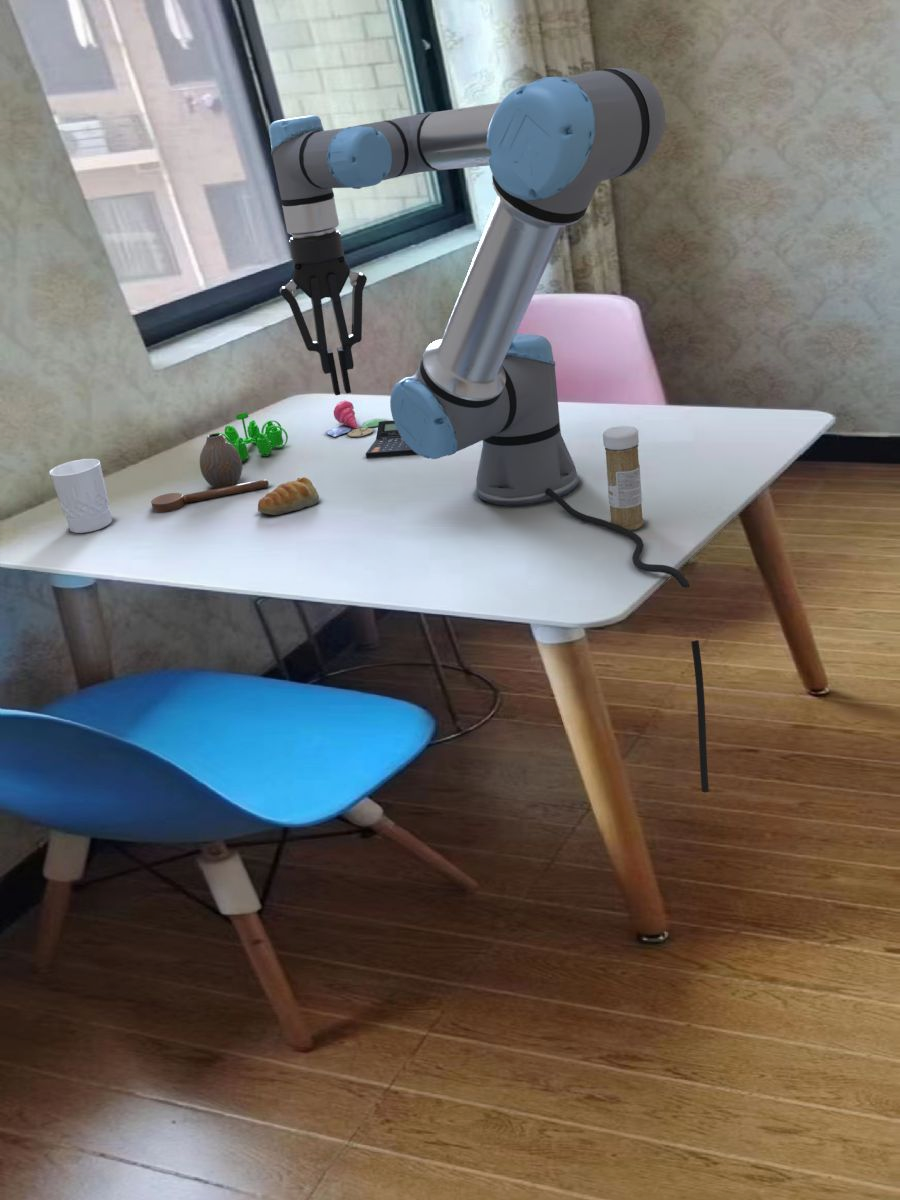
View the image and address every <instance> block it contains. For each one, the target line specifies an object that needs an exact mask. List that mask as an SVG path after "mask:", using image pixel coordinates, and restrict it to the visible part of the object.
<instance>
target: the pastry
mask: <svg viewBox="0 0 900 1200" xmlns="http://www.w3.org/2000/svg"><path fill="white" fill-rule="evenodd" d="M319 498H320V495H319V493H318V491H317V488H316V487H315V486H314V485H313V482H312V481H311V479H309V478H308V477H306V476H303V477H298V478H297V479H296V480H291V481H286V482H284V483H281V484H279V485H277V486H276V487H275V488H274V489H273V490H272V491H270V492H268V493H266V494H265V495H264V496H263V497H261V499H259V500H258V503H257V511H258V512H259V513H261V514H265V515H272V516H276V515H277V516H280V515H282V514H285V513H286V514H287V513H291V512H296V511H299V510H302V509H304V508H305V507H306V508H307V507H308V508H309V507H312V506H314V505H315V504H317V503H318V502H319V501H318V500H319Z"/></svg>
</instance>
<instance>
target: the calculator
mask: <svg viewBox="0 0 900 1200" xmlns="http://www.w3.org/2000/svg"><path fill="white" fill-rule="evenodd" d="M413 455H414V456H415V455H418V454H417V453H415V452H414V451H413V450H412V449H411V448H410V447H409V446H408V445H407V444H406V443H405V441H404V440H403V439H402V437H401V436H400V434H399V432H398V430H397V428H396V426H395V422H394V420H393V419H392V420H386V421H380V422H379V424H378V426H377V429H376V437H375V440H374V442H373V443H372V444H371V446H370V447H369V448H368V450H367V451H366V452H365V457H366V459H371V458H372V459H374V458H385V457H386V458H387V457H399V456H413Z"/></svg>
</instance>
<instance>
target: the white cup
mask: <svg viewBox="0 0 900 1200" xmlns="http://www.w3.org/2000/svg"><path fill="white" fill-rule="evenodd" d="M48 474H49V476H50V479H51V482H52V486H53V488H54V492H55V494H56V497H57V500H58V503H59V505H60V508H61V510H62V513H63V515H64V517H65V519H66V522H67V526H68V528H69V531H70V532H72V533H74V534H85V533H90V532H91V533H92V532H95V531H98V530H101V529H103V528H106V527H107V526H109V525H110V524H111V523H112V522H113V518H112V514H111V509H110V502H109V495H108V492H107V485H106V483H105V478H104V473H103V470H102V465H101V461H100V460H99V459H97V458H82V459H81V458H80V459H75V460H71V461H67V462H64V463H61V464H59V465H56V466H54V467H53V468H51V469H50V470H49V472H48Z"/></svg>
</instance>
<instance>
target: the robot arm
mask: <svg viewBox="0 0 900 1200" xmlns="http://www.w3.org/2000/svg"><path fill="white" fill-rule="evenodd" d="M665 126H666V110H665V106H664V101H663V99H662V97H661V94H660V93H659V90H658V89H657V87H656V86H655V85H654V83H652V81H651V80H649V78H647V77H646V76H644V75H643V74H641V73H640V72H638V71H635V70H633V69H629V68H624V67H610V68H609V67H608V68H603V69H599V70H593V71H587V72H582V73H577V74H573V75H569V76H568V75H567V76H547V77H543V78H539V79H536V80H534V81H532V82H530V83H527V84H524V85H521V86H519V87H517V88H515V89H513V90H512V91H511V92H509V93H508V94H507V95H506V96H505V97H504V98H503V99H502V101H500V102H494V103H488V104H482V105H481V104H480V105H475V106H468V107H461V108H454V109H448V110H447V109H446V110H440V111H425V112H419V113H416V114H412V115H408V116H402V117H397V118H392V119H388V120H387V119H386V120H382V121H375V122H369V123H364V124H359V125H353V126H347V127H340V128H333V129H326V130H325V129H324V126H323V123H322V120H321V118H320V116H318V115H314V114H313V115H312V114H311V115H304V116H296V117H291V118H284V119H279V120H275V121H272V123H270V125H269V128H268V132H269V138H270V147H271V150H270V151H271V152H270V154H271V156H272V161H273V165H274V171H275V177H276V181H277V186H278V191H279V196H280V200H281V205H282V207H281V208H282V212H283V218H284V223H285V226H286V227H285V229H286V233H287V234H289V235H291V237H290V238H289V240H288V243H289V248H290V254H291V255H290V256H291V261H292V265H293V270H292V274H291V280H290V281H289V282H287V283H286V284H285V285H282V286H280V288H279V293H280V295H281V296H282V298H283V299H284V300H285V302H287V304H288V305H289V308H290V310H291V312H292V315H293V318H294V320H295V322H296V326H297V328H298V330H299V333H300V336H301V338H302V340H303V343H304V346H305V347H306V349H307V351H309V352H317V353H318V355H319V359H320V366H321V370H322V372H323V373H324V375H327V374H330V379H331V384H332V391H333V393H334V395H335V396H340V395H341V390H340V385H339V384H340V383H339V378H338V373H337V368H336V363H335V357H334V351H333V350H332V348H328V344H327V343H328V342H327V337H326V327H325V321H324V320H325V319H324V313H323V303H322V300H323V299H325V298H328V299H330V302H331V307H332V311H333V315H334V319H335V323H336V328H337V329H336V330H337V332H338V336H339V341H340V345H341V346H339V347H336V351H337V357H338V363H339V369H340V374H341V379H342V385H343V390H344V392H345V394H346V395H347V394H351V393H352V389H351V383H350V378H349V372H348V370H349V371H350V370H353V369H354V367H355V365H354V358H353V351H352V347H353V345H355V344H358V343H361V341H362V337H363V291H364V289H365V286H366V284H367V282H368V278H367V276H366V275H365V274H364V273H363V272H358V271H354V270H352V269H351V267H350V265H349V264H348V263H347V261H346V258H345V252H344V247H343V246H344V245H343V241H342V235H341V232H340V231H339V230H338V229H337V228H338V227H339V226H340V223H339V218H338V217H339V215H338V211H337V204H336V200H335V193H334V190H333V189H349V188H350V189H353V190H354V189H355V190H361V189H362V188H369V187H373V186H376V185H379V184H381V183H382V182H383V181H386V180H391V179H394V178H395V179H396V178H399V177H404V176H409V175H413V174H419V173H426V172H437V171H439V172H440V171H443V170H454V169H466V168H478V167H479V168H480V167H489V169H490V172H491V174H492V175H491V185H492V187H493V189H494V191H495V193H496V195H497V197H496V200H495V202H494V205H493V207H492V210H491V212H490V215H489V218H488V220H487V223H486V225H485V227H484V231H483V233H482V236H481V237H480V241H479V243H478V246H477V248H476V251H475V253H474V256H473V258H472V260H471V261H472V262H471V264H470V266H469V269H468V272H467V274H466V277H465V279H464V282H463V284H462V287H461V289H460V291H459V294H458V297H457V299H456V302H455V304H454V307H453V309H452V312H451V315H450V317H449V320H448V322H447V325H446V328H445V330H444V333H443V335H442V337H441V338H440V339H437V340H435V341H432V343H430V344H429V345H428V346H427V347H426V349H425V350H424V352H423V355H422V357H421V360H420V362H419V365H418V367H417V370H416V372H415V373H414V374H413V375H412V376H407V377H403V378H402V379H401V380H400V381H399V382H396V384H395V385H394V386H393V388H392V390H391V392H390V400H389V404H390V414H391V418H392V421H393V420H394V422H395V426H396V428H397V430H398V432H399V434H400V436H401V437H402V439H403V440H404V441H405V443H406V444H407V445H408V446H409V447H410V448H411V449H412V450H413V451H414V452H415V453H417V454H416V455H418V456H420V457H422V458H425V459H431V460H437V459H440V458H443V457H446V456H447V457H449V456H453V455H454V454H456V453H457V452H459V451H462V450H465V449H467V448H468V447H470V446H473V445H475V444H477V443H480V442H482V447H481V451H480V458H479V463H478V468H477V473H476V479H475V481H476V482H475V487H476V493H477V496H478V497H479V499H480V500H482V501H484V502H486V503H489V504H493V505H498V506H527V505H528V506H529V505H535V504H540V503H546V502H550V501H553V500H554V502H556V503H557V504H558V505H559V506H560V507H561V508H563V510H564V511H565V512H566V513H568V514H569V515H570V516H572V517H574V518H576V519H578V520H580V521H582V522H585V523H588V524H592V525H595V526H598V527H602V528H605V529H607V530H610V531H612V532H614V533H617V534H621V535H623V536H624V537H627V538H628V539H631V540H632V541H634V543H635V549H634V551H633V554H632V559H631V560H632V563H633V565H634V566H635V568H637V569H638V570H640V571H642V572H646V573H647V572H648V573H662V574H667V575H670V576H672V577H673V578H674V579H676V580H677V581H678V583H679V584H680V586H681V587H682V588H685V589H686V588H690V587H691V585H690V583H689V581H688V579H687V578H686V577H685V575H684V574H683V573H682V572H681V571H680V570H678V569H676V568H675V567H673V566H670V565H666V564H653V563H652V564H651V563H645V562H643V561H642V560H641V554H642V552H643V550H644V540H643V539H642V538H641V536H639V535H638V534H637V533H636V532H634V531H633V530H628V529H626V528H623V527H621V526H618V525H615V524H613V523H610V522H611V521H608V520H605V519H602V518H598V517H594V516H591V515H588V514H585V513H582V512H580V511H578V510H577V509H575V508H573V507H572V506H571V505H570V504H569V503H568V502H567V501H566V500H565V499H563V496H566V495H567V494H569V493H570V492H572V491H573V490H574V489H576V487H577V486H578V483H579V481H578V472H577V468H576V465H575V463H574V460H573V458H572V456H571V454H570V451H569V449H568V446H567V445H566V443H565V440H564V438H563V436H562V431H561V423H560V410H559V409H560V408H559V399H558V398H559V397H558V388H557V376H556V362H555V360H554V353H553V347H552V344H551V342H550V341H549V340H548V339H547V337H544V336H542V335H540V334H539V335H538V334H532V333H531V334H530V333H517V332H518V331H519V328H520V326H521V323H522V321H523V319H524V317H525V315H526V313H527V311H528V309H529V305H530V304H531V302H532V300H533V297H534V295H535V292H536V291H537V288H538V287H539V284H540V281H541V280H542V278H543V275H544V273H545V271H546V269H547V267H548V264H549V262H550V260H551V257H552V255H553V253H554V251H555V249H556V246H557V244H558V242H559V240H560V237H561V235H562V233H563V231H564V228H565V227H566V226H571V225H574V224H577V223H578V222H580V221H581V220H582V219H583V217H584V216H585V214H586V212H587V210H588V207H589V206H590V204H591V201H592V199H593V197H594V195H595V193H596V191H597V189H598V187H599V185H600V184H601V183H602V182H605V181H608V180H613V179H615V178H619V177H622V176H625V175H628V174H631V173H633V172H635V171H636V170H638V169H640V168H641V167H642V166H644V165H645V164H646V163H647V162H649V160H651V158H652V157H653V155H654V154H655V153H656V152H657V150H658V148H659V146H660V144H661V142H662V139H663V136H664V132H665ZM348 278H349V284H350V286H351V287H352V292H351V334H349V331H348V327H347V322H346V318H345V314H344V309H343V305H342V300H341V293H342V291H343V289H344V288H345V285H346V282H347V280H348ZM297 287H298V288H299V289H300V290H301V291H302V292H303V293H304V294H305V295H306V296H307V297H308V298H310V302H311V306H312V314H313V315H312V316H313V322H314V328H315V337H316V341H315V340H313V338H312V335H311V333H310V331H309V328H308V326H307V324H306V323H307V322H306V321H305V318H304V315H303V312H302V309H301V308H300V305H299V302H298V300H297V298H296V297H298V292H297ZM690 643H691V650H692V658H693V666H694V676H695V688H696V689H695V691H696V705H697V724H698V725H697V726H698V727H697V728H698V750H699V751H698V752H699V770H700V771H699V772H700V784H701V793H705V794H706V793H709V791H710V790H709V789H710V788H709V774H708V773H709V772H708V771H709V770H708V753H707V727H706V726H707V725H706V724H707V723H706V705H705V704H706V703H705V687H704V686H705V685H704V676H703V665H702V658H701V657H702V656H701V648H700V641H699V640H698V639H697V640H693V641H690Z"/></svg>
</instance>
